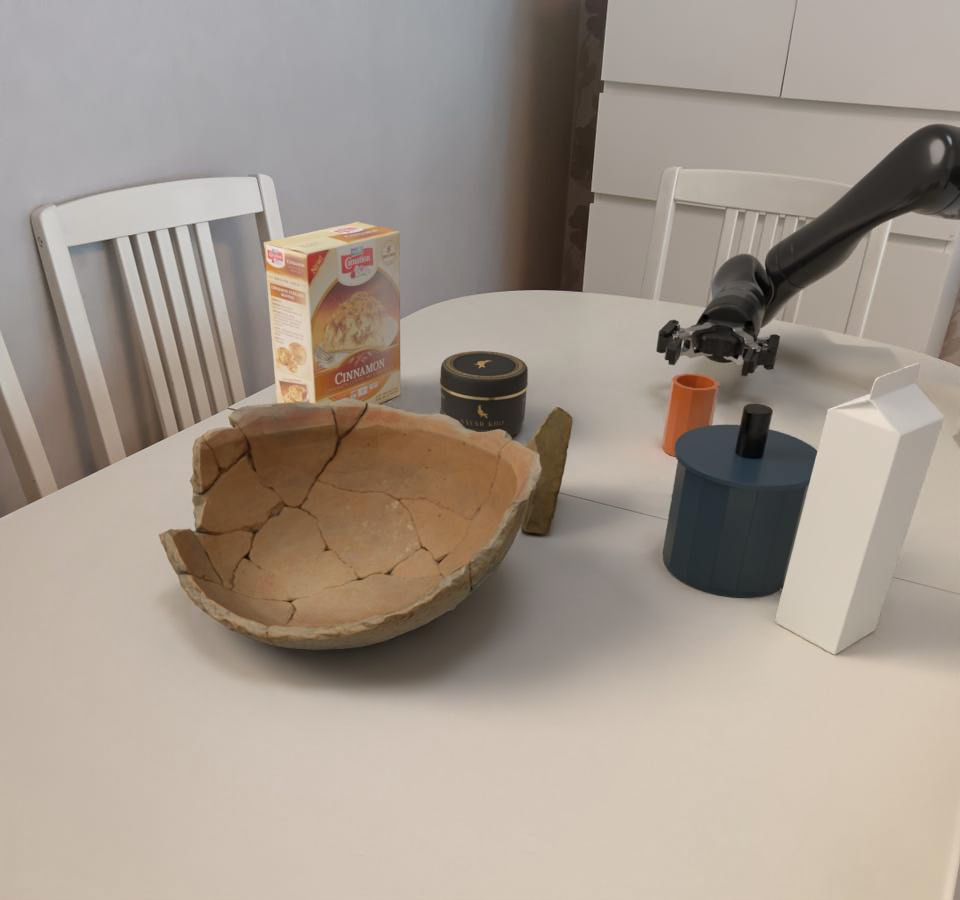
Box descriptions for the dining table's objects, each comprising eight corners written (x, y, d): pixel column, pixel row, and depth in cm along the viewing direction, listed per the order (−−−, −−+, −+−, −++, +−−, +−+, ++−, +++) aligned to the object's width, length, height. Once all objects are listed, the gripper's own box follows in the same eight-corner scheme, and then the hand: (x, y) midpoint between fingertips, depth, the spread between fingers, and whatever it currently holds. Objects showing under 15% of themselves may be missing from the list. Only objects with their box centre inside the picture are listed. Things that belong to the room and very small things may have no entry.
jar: (439, 444, 109) (439, 378, 104) (439, 411, 117) (440, 348, 113) (527, 446, 109) (532, 380, 105) (521, 412, 117) (525, 350, 113)
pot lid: (751, 426, 91) (762, 373, 88) (853, 480, 82) (870, 423, 79) (643, 450, 85) (651, 394, 82) (740, 510, 76) (753, 450, 73)
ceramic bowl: (106, 649, 72) (89, 451, 65) (236, 535, 96) (233, 383, 90) (506, 705, 69) (529, 505, 63) (535, 574, 94) (553, 420, 88)
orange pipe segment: (687, 437, 113) (698, 370, 108) (715, 454, 109) (728, 385, 105) (653, 445, 111) (663, 377, 106) (680, 462, 107) (692, 392, 103)
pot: (731, 523, 96) (752, 423, 90) (817, 579, 87) (847, 472, 81) (637, 549, 91) (652, 444, 85) (719, 610, 83) (742, 499, 77)
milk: (773, 623, 81) (835, 366, 69) (815, 599, 85) (882, 350, 72) (836, 656, 78) (913, 391, 65) (877, 631, 81) (959, 373, 68)
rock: (573, 527, 89) (610, 473, 96) (522, 450, 86) (564, 400, 93) (489, 560, 96) (530, 508, 103) (440, 490, 94) (485, 441, 100)
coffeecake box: (318, 430, 111) (307, 252, 100) (275, 414, 114) (259, 240, 103) (404, 395, 121) (402, 229, 110) (361, 381, 124) (356, 219, 113)
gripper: (680, 287, 125) (652, 321, 112) (792, 302, 121) (777, 339, 109) (671, 344, 129) (644, 384, 117) (779, 361, 125) (763, 403, 113)
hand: (708, 362), depth 113 cm, fingers open, 8 cm apart
